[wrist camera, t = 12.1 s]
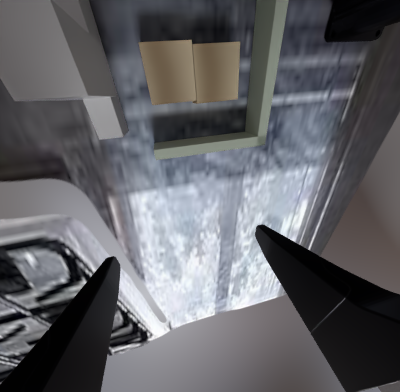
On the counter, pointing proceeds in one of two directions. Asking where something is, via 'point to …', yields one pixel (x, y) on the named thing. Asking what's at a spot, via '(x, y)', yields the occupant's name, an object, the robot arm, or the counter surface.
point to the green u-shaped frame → (257, 95)
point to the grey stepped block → (59, 59)
